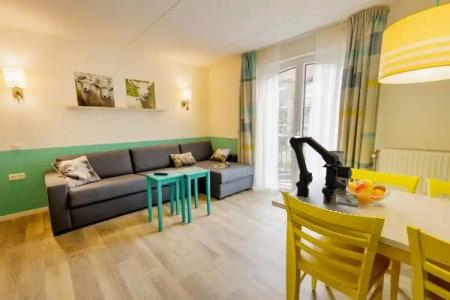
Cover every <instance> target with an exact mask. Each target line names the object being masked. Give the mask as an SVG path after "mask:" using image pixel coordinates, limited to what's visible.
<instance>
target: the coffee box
mask: <svg viewBox="0 0 450 300" xmlns="http://www.w3.org/2000/svg"><path fill="white" fill-rule="evenodd" d="M337 180H339V181H340V180H346V183H347V185H348V186H349V183H350V179H347V178H341V177H338V176H337ZM335 193H338V194H339V193H340V194H345V195H346V193H347V191H346V188H345V190H342V189H340V188H338V187H337V189H335Z"/></svg>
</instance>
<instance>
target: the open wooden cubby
mask: <svg viewBox="0 0 450 300" xmlns="http://www.w3.org/2000/svg"><path fill="white" fill-rule="evenodd" d="M322 200H323V202H322V203H323V204H327V205H332V206H335V205H336V202H337V193H334V195H332V196H331V199H330V203H327V201H326V199H325V197H324V196H323V199H322Z"/></svg>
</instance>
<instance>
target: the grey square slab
mask: <svg viewBox="0 0 450 300" xmlns="http://www.w3.org/2000/svg"><path fill="white" fill-rule="evenodd" d="M336 202H337V204H340V205H344V206H351V207H354V208H355V207H356V208H357V207H358V203H359V200H358V201H357V200H356V198H351V193H350V192H348V193H346V194H345V197H344V196H338V199H337V200H336Z"/></svg>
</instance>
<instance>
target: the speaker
mask: <svg viewBox="0 0 450 300" xmlns="http://www.w3.org/2000/svg"><path fill="white" fill-rule="evenodd" d="M329 151H330V152H332V153H334V154H336V155H337V156H338V157H339V160H340V162H341V163H342V165H343V166H345V158H346V157H345V156H346V155H345V153H346V152H345V151H344V150H329Z"/></svg>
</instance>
